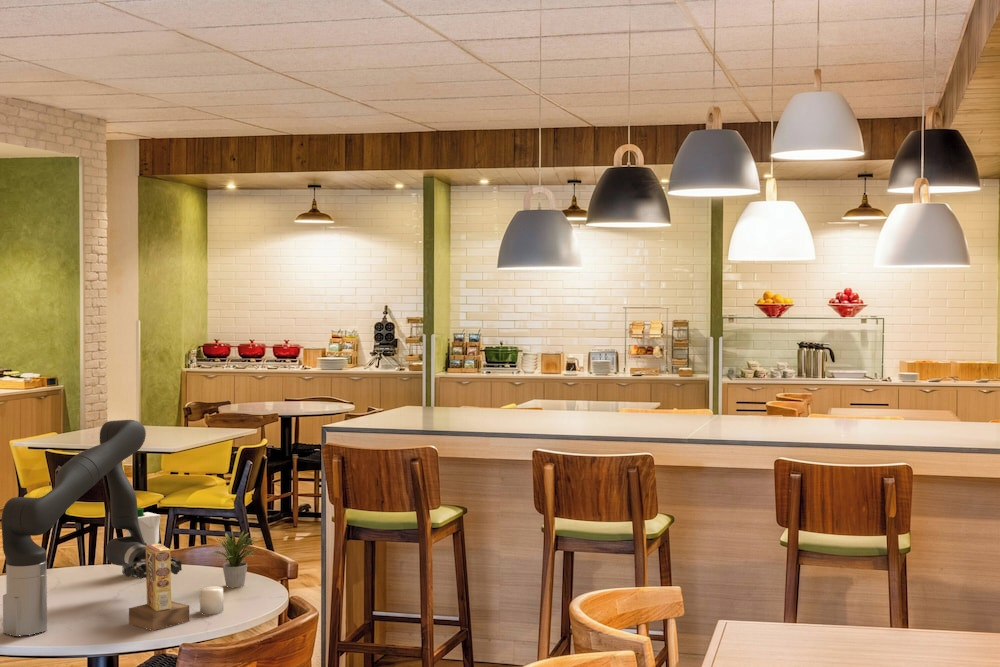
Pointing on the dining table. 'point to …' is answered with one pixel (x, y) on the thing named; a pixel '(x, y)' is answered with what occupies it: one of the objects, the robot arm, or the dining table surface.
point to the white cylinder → (211, 600)
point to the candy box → (158, 577)
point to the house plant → (235, 559)
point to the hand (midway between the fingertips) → (159, 572)
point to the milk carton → (148, 526)
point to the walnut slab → (158, 616)
